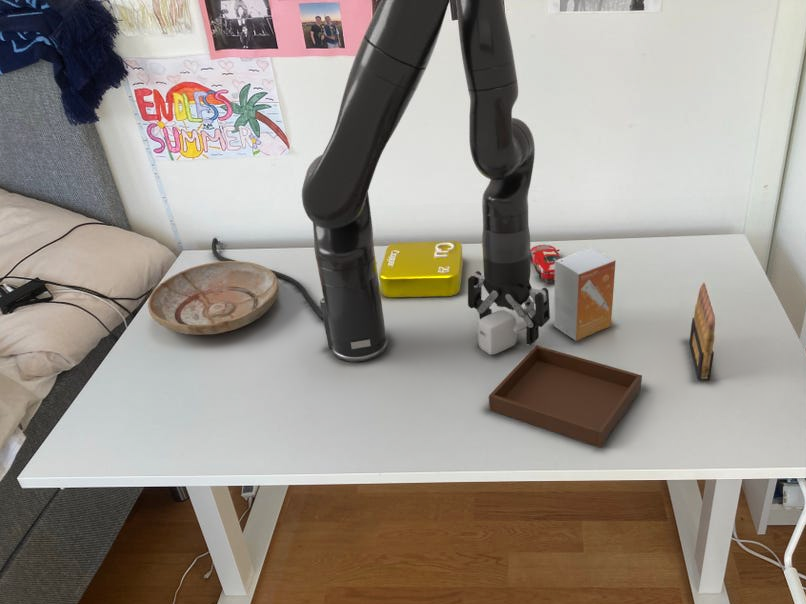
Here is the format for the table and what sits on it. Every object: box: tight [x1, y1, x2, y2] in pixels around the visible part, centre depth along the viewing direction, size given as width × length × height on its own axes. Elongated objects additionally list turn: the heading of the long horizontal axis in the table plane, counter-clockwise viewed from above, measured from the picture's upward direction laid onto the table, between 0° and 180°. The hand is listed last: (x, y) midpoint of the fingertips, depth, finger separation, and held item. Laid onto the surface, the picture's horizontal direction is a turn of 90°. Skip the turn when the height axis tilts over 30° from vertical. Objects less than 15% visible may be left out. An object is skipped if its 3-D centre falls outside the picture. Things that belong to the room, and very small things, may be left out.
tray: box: [488, 345, 643, 449], centre depth 119 cm, size 18×15×3 cm
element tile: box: [378, 240, 464, 299], centre depth 152 cm, size 15×15×5 cm
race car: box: [530, 244, 562, 283], centre depth 153 cm, size 13×5×4 cm, turn 8°
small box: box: [553, 247, 617, 342], centre depth 132 cm, size 8×6×13 cm
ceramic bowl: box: [147, 260, 280, 336], centre depth 144 cm, size 23×24×5 cm
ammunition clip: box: [688, 282, 716, 382], centre depth 122 cm, size 11×2×12 cm, turn 175°
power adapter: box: [477, 309, 527, 356], centre depth 132 cm, size 11×5×6 cm, turn 127°
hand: (508, 336), depth 132 cm, fingers open, 8 cm apart
